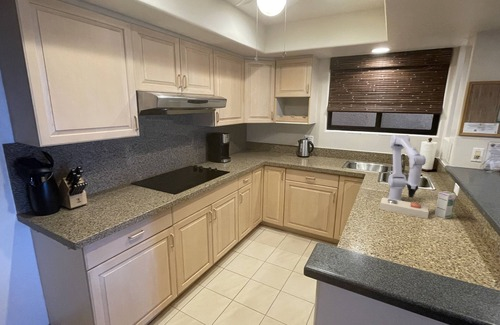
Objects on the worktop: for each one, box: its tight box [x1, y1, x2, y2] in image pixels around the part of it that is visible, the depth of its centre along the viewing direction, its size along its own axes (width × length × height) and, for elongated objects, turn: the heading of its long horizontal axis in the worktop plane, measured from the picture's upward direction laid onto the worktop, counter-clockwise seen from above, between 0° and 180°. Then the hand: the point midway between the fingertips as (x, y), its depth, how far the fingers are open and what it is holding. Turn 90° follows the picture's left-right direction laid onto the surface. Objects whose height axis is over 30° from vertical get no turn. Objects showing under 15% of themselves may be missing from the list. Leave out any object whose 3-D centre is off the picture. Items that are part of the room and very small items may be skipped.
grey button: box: [388, 199, 397, 204], centre depth 152 cm, size 5×5×5 cm
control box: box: [379, 197, 430, 220], centre depth 149 cm, size 12×24×4 cm, turn 58°
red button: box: [411, 202, 422, 208], centre depth 145 cm, size 5×5×5 cm
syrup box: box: [434, 190, 457, 219], centre depth 140 cm, size 6×6×14 cm
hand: (410, 197), depth 147 cm, fingers closed
